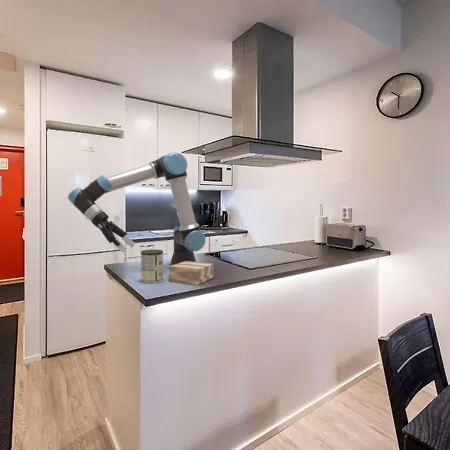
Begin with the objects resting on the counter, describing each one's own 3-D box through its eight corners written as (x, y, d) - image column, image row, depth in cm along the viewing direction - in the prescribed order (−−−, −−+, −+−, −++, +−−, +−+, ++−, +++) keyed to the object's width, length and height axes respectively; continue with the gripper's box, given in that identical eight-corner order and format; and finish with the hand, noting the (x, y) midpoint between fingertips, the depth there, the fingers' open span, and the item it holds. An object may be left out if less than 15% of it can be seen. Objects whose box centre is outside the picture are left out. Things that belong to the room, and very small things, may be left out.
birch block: (186, 274, 160) (186, 260, 160) (213, 277, 154) (213, 263, 153) (168, 281, 146) (168, 266, 145) (198, 285, 139) (198, 270, 139)
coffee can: (143, 277, 152) (143, 249, 151) (164, 277, 152) (164, 249, 151) (138, 283, 142) (138, 252, 141) (161, 283, 142) (161, 253, 141)
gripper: (101, 220, 157) (131, 249, 158) (79, 223, 132) (114, 258, 134) (111, 209, 157) (141, 239, 158) (91, 211, 132) (126, 246, 133)
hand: (129, 248), depth 146 cm, fingers open, 13 cm apart
